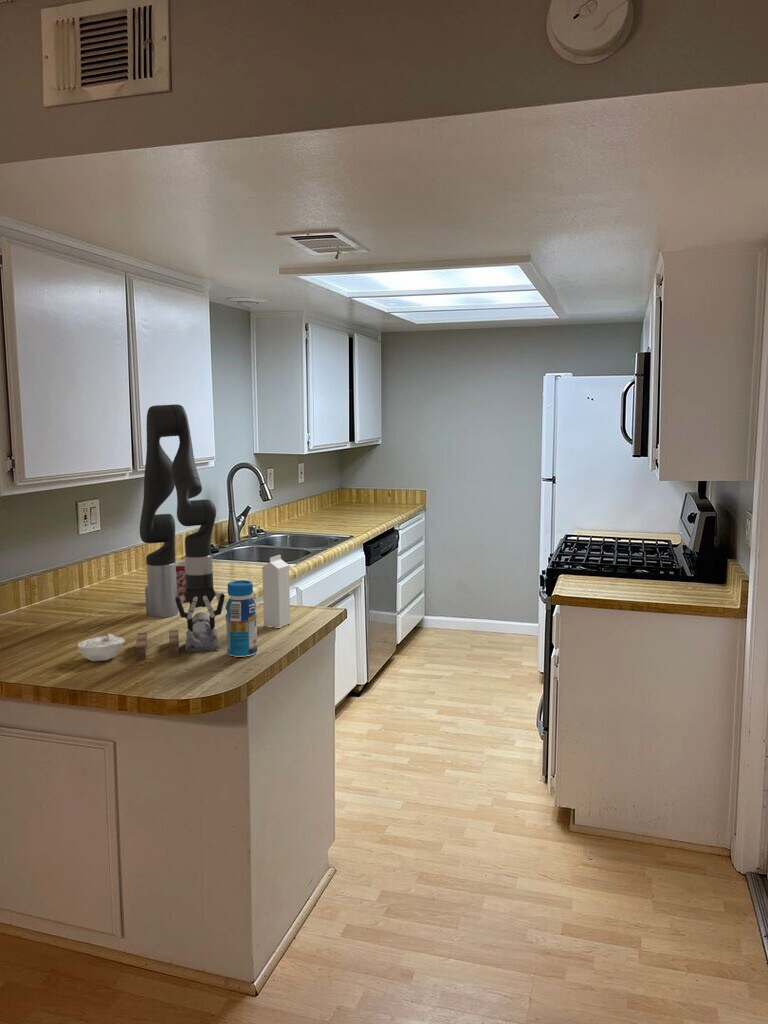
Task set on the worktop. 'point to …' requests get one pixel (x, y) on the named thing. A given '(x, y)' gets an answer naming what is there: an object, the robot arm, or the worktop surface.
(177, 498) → the robot arm
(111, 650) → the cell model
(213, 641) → the v block
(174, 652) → the slotted block
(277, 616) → the milk
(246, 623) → the beverage bottle
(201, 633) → the grey metal cylinder
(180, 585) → the mug
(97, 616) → the worktop surface
